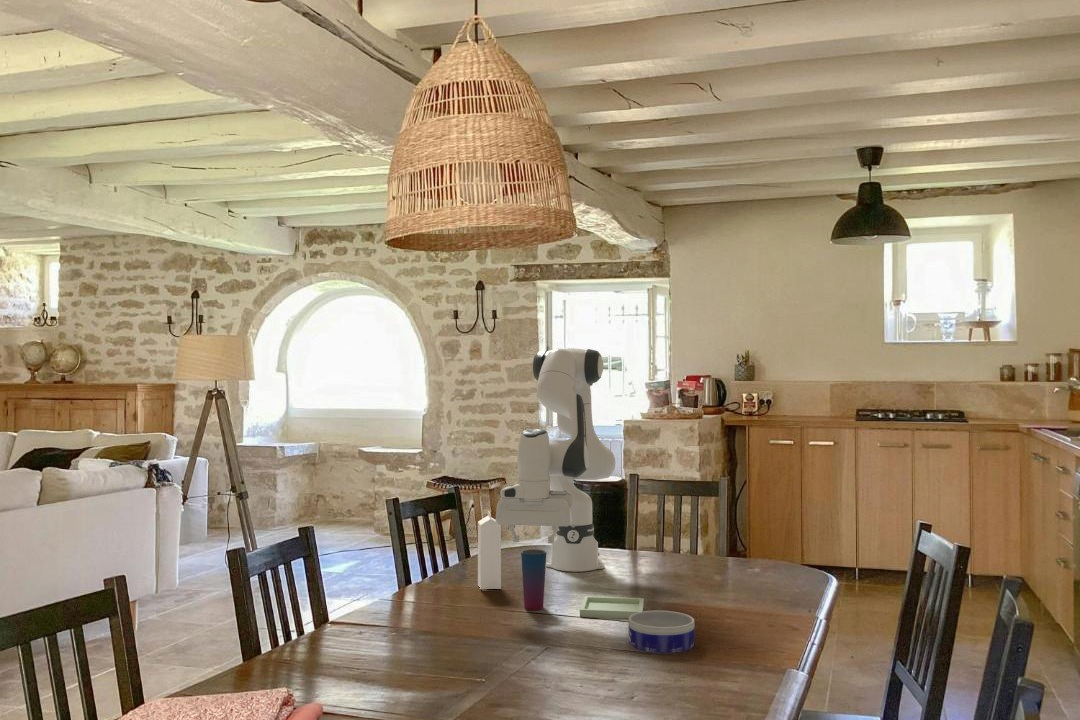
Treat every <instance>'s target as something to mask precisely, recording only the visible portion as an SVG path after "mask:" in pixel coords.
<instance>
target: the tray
mask: <svg viewBox="0 0 1080 720" xmlns="http://www.w3.org/2000/svg"><path fill="white" fill-rule="evenodd" d="M644 599H645V598H643V597H623V596H622V597H620V596H619V597H618V596H594V595H593V596H592V595H591V596H590V595H589V596H587V595H586V596H585V595H584V597H583V599H582V603H581V605H580V607H579V617H580V618H581V617H583V618H584V617H585V618H603V619H605V618H607V619H608V618H609V619H610V618H611V619H629V616H631V615H632V614H634V613H638V612H642V611H644V607H645V606H644V605H645V604H644V601H645V600H644Z"/></svg>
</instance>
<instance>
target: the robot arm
mask: <svg viewBox="0 0 1080 720" xmlns="http://www.w3.org/2000/svg"><path fill="white" fill-rule="evenodd" d="M602 358H603V357H602V355H601V353H600V352H599V351H598V350H596V349H591V348H588V349H585V348H574V347H573V348H570V347H567V348H555V349H550V350H549V349H542V350H539V351H537V353H535V355H534V356H533V360H532V367H531V369H532V372H533V376H534V379H536V381H537V383H536V384H537V385H536V396H537V398H538V401H539V403H540V404H541V405H542V406H543V407H544V408H546V409H547V410H549V411H551V412H553V413H556V424H557V427H558V429H559V430H560V431H561V432H562V433H564V434H566V435H567V436H570V438H569V439H566V440H556V439H555V440H554V439H553V440H552V439H550V437H549V432H548V431H547V430H545V429H542V428H531V429H530V428H529V429H525V430H522V431H521V432H520V433H519V439H518V444H517V458H516V459H517V461H516V463H517V466H518V473H517V483H515V484H511V485H509V486H505V487H503V488H502V489H501V490H500V491H499V492H500V497H501V498H500V499H499V500H498V501H497V504H496V509H495V520H496V522H497V523H498V524H499V525H501V526H503V525H504V526H508V530H509V532H510V534H511V535H512V542H513V543H519V542H520V534H517V532H516V531H515V528H516V526H534V527H535V526H536V527H539V526H540V527H551V529H552V531H553V532H552V534H551V535H548V536H547V543H548V544H551V549H550V551H551V552H550V555H551V556H550V560H549V561H546V568H551V569H555V570H557V571H564V572H576V573H577V572H588V571H594V570H598V569H599V570H600V569H605V568H606V567H605V564H604V562H603V560H602V559H601V557H600V552H599V542H598V541H597V540H596V539H595V536H594V534H595V531H594V530H595V526H594V523H593V501H592V498H591V496H590V495H589V494H588V493H586V492H584V491H583V490H581V489H580V488H577V487H576V485H575V484H574V481H575V480H576V481H598V480H604V479H609V478H610V477H611V476H612V474H613V473H614V471H615V469H616V458H615V455H614V453H613V452H612V450H611V449H610V448H609V447H608V446H606V445H605V444H604V443H603V442H602V440H600V438H599V437H598V436H597V434H596V431H595V427H594V425H593V413H592V412H593V411H592V410H593V409H592V391H591V390H592V389H591V386H593V384H595V383H597V382H598V381H599V380H601V378H602V374H603V372H604V362H603V361H604V360H603V359H602ZM551 489H552V490H551ZM555 536H556V537H555Z"/></svg>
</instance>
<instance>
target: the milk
mask: <svg viewBox="0 0 1080 720" xmlns="http://www.w3.org/2000/svg"><path fill="white" fill-rule="evenodd" d="M478 586H479V587H480V588H479V587H478ZM477 587H478V588H479V590H480V589H501V590H502V525H499V524H498V523H497V522H496V518H493V517H492V514H491V512H490V511H489V510H487V515H486V516H485V517H483V518H482V519H480V520H478V521H477Z"/></svg>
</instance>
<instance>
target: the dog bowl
mask: <svg viewBox="0 0 1080 720" xmlns="http://www.w3.org/2000/svg"><path fill="white" fill-rule="evenodd" d="M627 619H628V621H627V622H628V643H629V646H630V647H632V648H634V649H635V650H639V651H642V652H646V653H651V652H652V654H677V653H676V652H679V653H683V652H682V651H684V652H687V651H686V650H688V651H690V650H691V649H690V648H692V647H694V646H695V631H696V630H695V628H696V627H695V626H696V625H695V624H696V623H695V618H694V617H692V616H691V615H689V614H687V613H682V612H679V611H672V610H659V609H658V610H643V611H642V612H638V613H634V614H632V615H631V616H629V618H627ZM689 649H690V650H689ZM692 649H693V648H692Z"/></svg>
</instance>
